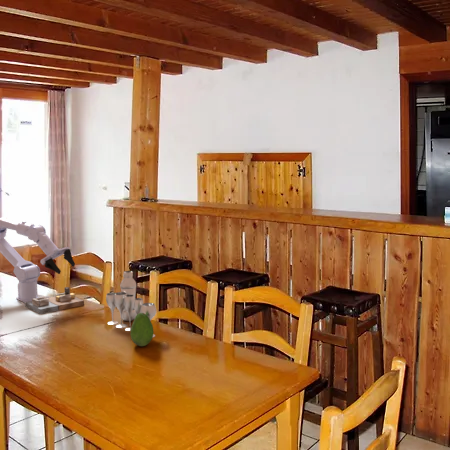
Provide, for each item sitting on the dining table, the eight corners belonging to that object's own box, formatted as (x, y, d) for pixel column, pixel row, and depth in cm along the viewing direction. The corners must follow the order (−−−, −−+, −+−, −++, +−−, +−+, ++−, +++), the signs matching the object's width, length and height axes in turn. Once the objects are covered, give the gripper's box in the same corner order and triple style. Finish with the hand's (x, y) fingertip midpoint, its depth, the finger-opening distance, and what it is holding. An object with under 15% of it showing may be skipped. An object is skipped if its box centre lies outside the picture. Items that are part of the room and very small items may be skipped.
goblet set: (103, 323, 219) (102, 290, 217) (115, 320, 223) (114, 288, 221) (147, 339, 199) (146, 304, 198) (159, 336, 204) (159, 301, 202)
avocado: (143, 351, 188) (142, 317, 186) (126, 346, 192) (125, 313, 191) (158, 344, 195) (157, 311, 193) (141, 340, 199) (140, 308, 197)
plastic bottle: (139, 317, 225) (138, 270, 223) (134, 323, 219) (133, 273, 216) (123, 317, 226) (122, 269, 223) (119, 322, 219) (117, 273, 217)
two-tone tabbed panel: (67, 298, 256) (67, 289, 255) (84, 304, 245) (83, 295, 244) (25, 306, 242) (24, 297, 241) (40, 314, 231) (39, 303, 230)
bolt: (72, 296, 250) (71, 286, 249) (74, 297, 248) (74, 287, 248) (55, 300, 245) (55, 289, 244) (58, 301, 243) (57, 290, 242)
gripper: (35, 248, 237) (54, 271, 234) (63, 235, 247) (82, 256, 244) (33, 257, 242) (51, 280, 239) (60, 244, 252) (78, 265, 249)
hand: (67, 268), depth 242 cm, fingers open, 7 cm apart
